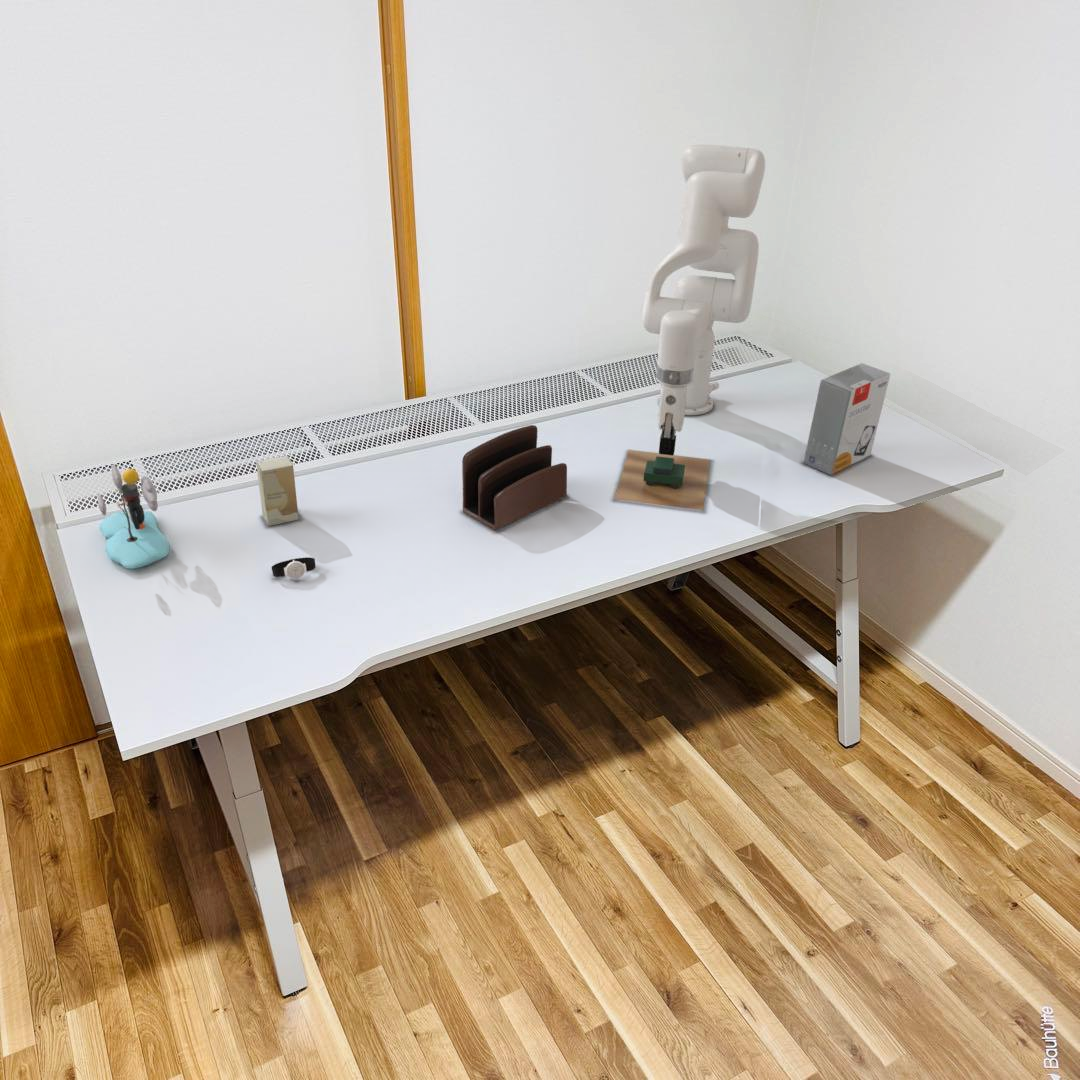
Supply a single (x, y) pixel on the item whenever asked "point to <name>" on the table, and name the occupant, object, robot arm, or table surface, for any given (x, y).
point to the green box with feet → (664, 472)
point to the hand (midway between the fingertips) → (666, 452)
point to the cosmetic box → (277, 490)
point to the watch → (293, 567)
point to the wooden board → (660, 493)
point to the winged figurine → (133, 524)
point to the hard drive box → (846, 418)
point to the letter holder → (510, 478)
